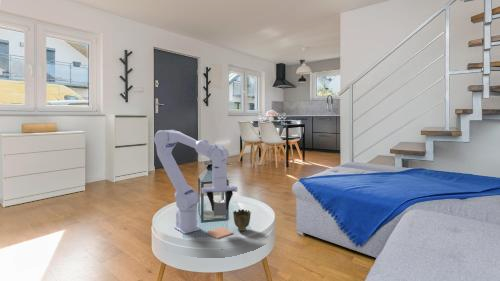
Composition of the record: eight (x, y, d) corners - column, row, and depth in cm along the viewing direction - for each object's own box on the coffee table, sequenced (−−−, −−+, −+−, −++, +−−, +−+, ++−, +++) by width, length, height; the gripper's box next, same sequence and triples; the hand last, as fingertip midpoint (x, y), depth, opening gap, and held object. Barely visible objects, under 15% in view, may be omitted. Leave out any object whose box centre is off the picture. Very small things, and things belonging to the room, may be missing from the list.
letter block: (213, 215, 113) (213, 203, 113) (213, 212, 118) (212, 199, 118) (226, 215, 114) (226, 202, 114) (225, 211, 119) (224, 199, 119)
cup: (239, 235, 114) (239, 215, 114) (229, 229, 120) (229, 211, 120) (254, 231, 119) (254, 212, 118) (244, 225, 125) (244, 208, 124)
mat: (206, 233, 117) (206, 231, 117) (222, 228, 122) (222, 227, 122) (217, 239, 111) (217, 237, 111) (233, 233, 116) (233, 232, 116)
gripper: (235, 174, 120) (235, 205, 121) (201, 175, 117) (201, 207, 118) (238, 177, 113) (238, 210, 114) (201, 179, 110) (202, 213, 111)
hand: (219, 209), depth 116 cm, fingers closed on letter block, 5 cm apart
